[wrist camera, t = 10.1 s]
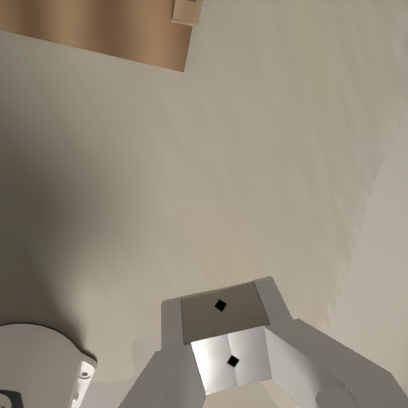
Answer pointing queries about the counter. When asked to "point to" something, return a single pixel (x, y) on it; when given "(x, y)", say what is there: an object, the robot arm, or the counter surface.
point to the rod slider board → (109, 26)
